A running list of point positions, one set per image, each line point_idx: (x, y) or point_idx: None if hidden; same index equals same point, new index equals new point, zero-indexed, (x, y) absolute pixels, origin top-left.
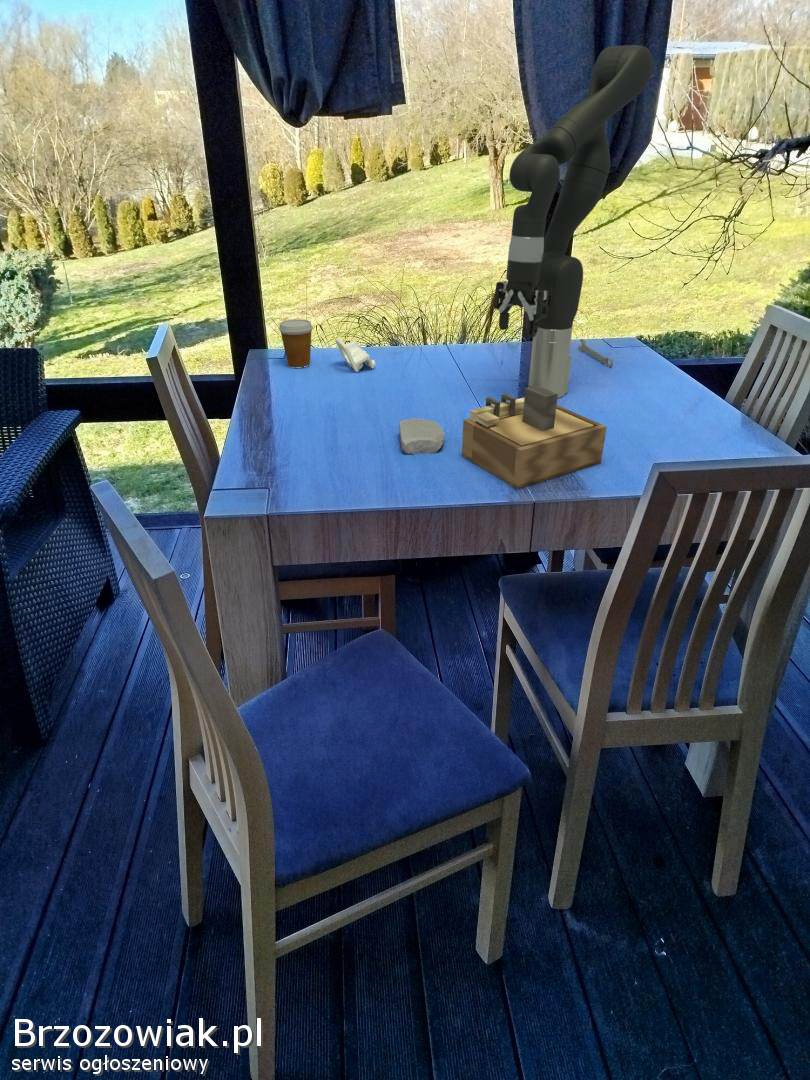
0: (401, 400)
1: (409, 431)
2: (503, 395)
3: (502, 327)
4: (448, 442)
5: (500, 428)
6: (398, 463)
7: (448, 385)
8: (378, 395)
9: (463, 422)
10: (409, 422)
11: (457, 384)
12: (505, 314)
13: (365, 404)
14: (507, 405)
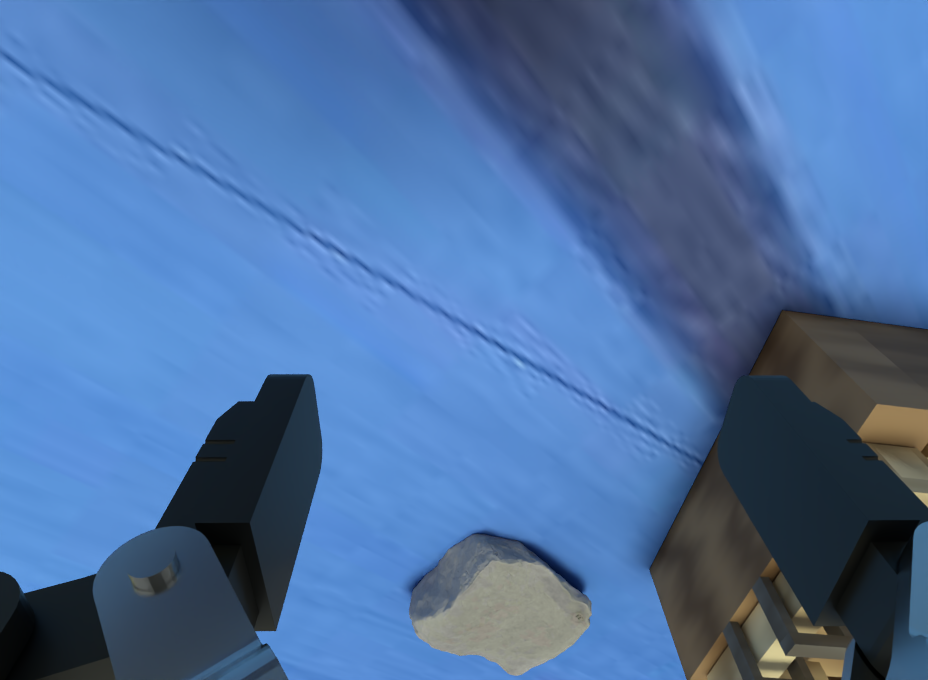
0: (131, 452)
1: (495, 650)
2: (798, 656)
3: (316, 470)
4: (557, 545)
5: (830, 659)
6: (555, 662)
7: (4, 176)
8: (34, 478)
9: (685, 672)
10: (458, 641)
11: (3, 121)
12: (269, 581)
13: (116, 545)
14: (815, 633)
